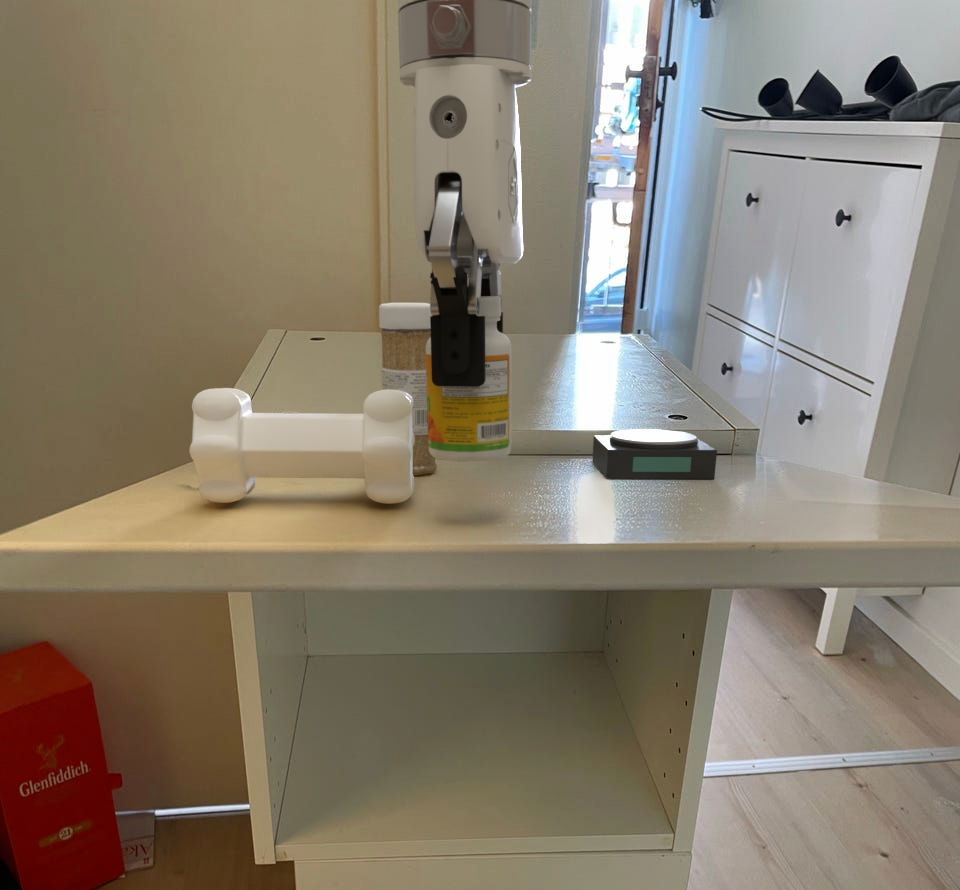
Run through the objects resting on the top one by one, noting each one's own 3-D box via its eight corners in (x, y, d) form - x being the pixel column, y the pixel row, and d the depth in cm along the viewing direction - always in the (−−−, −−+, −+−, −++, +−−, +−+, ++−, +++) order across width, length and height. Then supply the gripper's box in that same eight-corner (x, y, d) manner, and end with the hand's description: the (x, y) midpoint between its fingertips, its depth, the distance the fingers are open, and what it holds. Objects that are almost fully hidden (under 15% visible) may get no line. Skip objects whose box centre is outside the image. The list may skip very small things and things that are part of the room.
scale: (691, 462, 88) (694, 429, 87) (714, 479, 81) (718, 442, 80) (592, 462, 87) (594, 428, 86) (606, 479, 80) (608, 442, 79)
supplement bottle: (439, 447, 66) (436, 296, 63) (517, 449, 65) (518, 295, 62) (419, 461, 61) (414, 298, 58) (503, 463, 60) (503, 297, 57)
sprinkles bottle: (420, 465, 85) (419, 302, 80) (446, 473, 81) (446, 303, 77) (373, 469, 83) (368, 302, 78) (398, 478, 79) (395, 303, 75)
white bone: (191, 515, 67) (180, 392, 64) (219, 488, 75) (210, 379, 72) (411, 515, 67) (410, 394, 64) (415, 490, 75) (414, 381, 72)
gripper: (505, 11, 47) (504, 397, 53) (549, 77, 63) (545, 369, 69) (355, 20, 48) (372, 395, 55) (436, 82, 64) (442, 368, 70)
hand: (469, 377), depth 62 cm, fingers closed on supplement bottle, 5 cm apart
